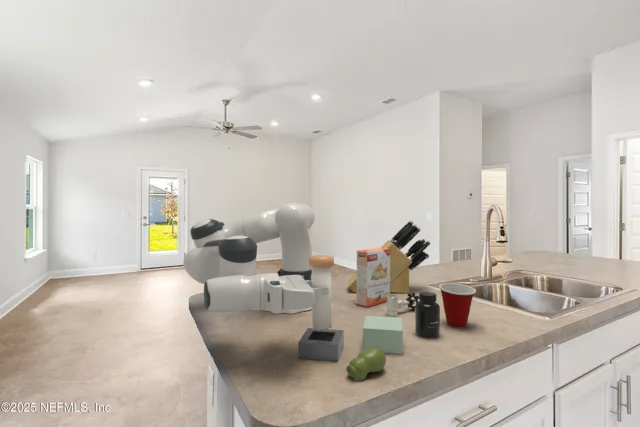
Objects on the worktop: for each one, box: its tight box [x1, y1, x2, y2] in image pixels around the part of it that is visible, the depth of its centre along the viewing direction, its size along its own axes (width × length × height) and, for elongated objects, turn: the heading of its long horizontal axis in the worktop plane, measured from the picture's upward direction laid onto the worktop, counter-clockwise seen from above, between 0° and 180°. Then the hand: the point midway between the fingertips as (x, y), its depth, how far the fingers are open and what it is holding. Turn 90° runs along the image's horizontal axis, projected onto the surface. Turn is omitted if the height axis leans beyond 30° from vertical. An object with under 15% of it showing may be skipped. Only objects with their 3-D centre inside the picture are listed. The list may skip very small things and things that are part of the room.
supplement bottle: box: [414, 291, 441, 339], centre depth 99 cm, size 7×7×12 cm
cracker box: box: [356, 247, 391, 308], centre depth 132 cm, size 14×6×21 cm, turn 131°
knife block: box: [347, 220, 431, 294], centre depth 151 cm, size 11×35×31 cm, turn 87°
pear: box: [345, 347, 387, 381], centre depth 77 cm, size 6×5×10 cm
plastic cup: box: [438, 282, 477, 329], centre depth 107 cm, size 11×11×12 cm
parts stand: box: [362, 315, 404, 355], centre depth 92 cm, size 10×10×6 cm
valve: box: [385, 292, 419, 317], centre depth 120 cm, size 7×7×12 cm
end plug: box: [309, 254, 335, 330], centre depth 88 cm, size 6×6×18 cm
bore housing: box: [297, 327, 345, 362], centre depth 89 cm, size 10×10×4 cm
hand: (324, 287), depth 88 cm, fingers closed on end plug, 5 cm apart
